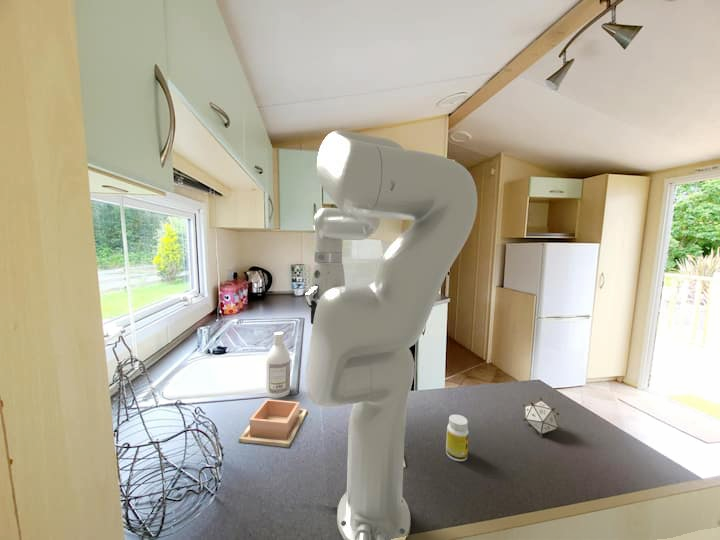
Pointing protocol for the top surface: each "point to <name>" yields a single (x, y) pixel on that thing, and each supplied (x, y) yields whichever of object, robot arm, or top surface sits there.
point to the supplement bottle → (457, 438)
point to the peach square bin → (274, 427)
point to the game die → (541, 417)
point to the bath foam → (278, 368)
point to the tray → (274, 441)
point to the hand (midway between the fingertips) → (327, 320)
